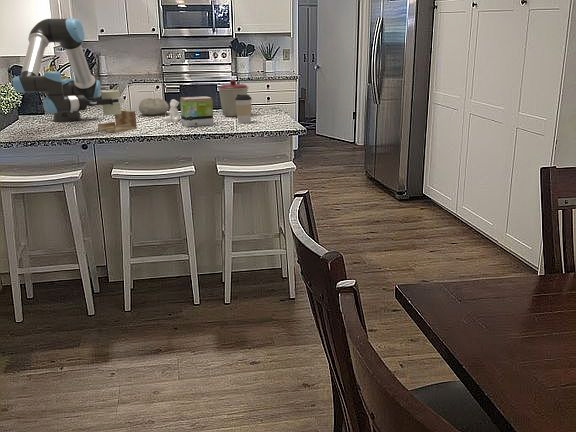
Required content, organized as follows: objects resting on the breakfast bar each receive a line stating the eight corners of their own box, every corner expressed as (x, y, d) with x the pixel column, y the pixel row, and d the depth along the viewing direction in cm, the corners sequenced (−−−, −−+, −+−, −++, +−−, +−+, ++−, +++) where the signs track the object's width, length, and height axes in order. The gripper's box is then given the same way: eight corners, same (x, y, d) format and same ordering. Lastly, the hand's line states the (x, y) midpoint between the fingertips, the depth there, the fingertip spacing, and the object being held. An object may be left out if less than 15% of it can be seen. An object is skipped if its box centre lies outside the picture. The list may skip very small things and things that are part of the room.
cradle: (97, 130, 308) (95, 112, 305) (119, 126, 319) (117, 109, 316) (115, 132, 300) (113, 114, 298) (136, 128, 311) (135, 111, 309)
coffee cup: (255, 121, 328) (254, 93, 324) (248, 123, 320) (247, 95, 315) (240, 120, 331) (238, 93, 326) (233, 123, 323) (232, 95, 318)
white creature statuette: (162, 121, 333) (160, 100, 330) (171, 119, 341) (169, 98, 337) (176, 122, 329) (174, 100, 326) (185, 120, 337) (183, 98, 333)
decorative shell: (153, 112, 371) (152, 96, 368) (175, 113, 363) (174, 97, 360) (133, 116, 357) (131, 99, 354) (155, 117, 348) (154, 100, 345)
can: (116, 115, 300) (114, 90, 296) (99, 114, 302) (97, 90, 298) (124, 112, 309) (122, 89, 305) (108, 112, 310) (106, 89, 307)
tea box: (187, 127, 312) (185, 99, 308) (181, 124, 321) (179, 97, 316) (214, 125, 319) (212, 97, 314) (207, 122, 328) (206, 95, 323)
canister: (213, 117, 346) (211, 80, 339) (227, 113, 362) (226, 77, 355) (241, 118, 339) (239, 80, 333) (254, 114, 355) (253, 78, 348)
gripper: (69, 108, 301) (111, 104, 315) (86, 112, 285) (129, 108, 299) (67, 93, 299) (109, 90, 313) (84, 96, 283) (128, 93, 297)
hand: (119, 99), depth 306 cm, fingers closed on can, 9 cm apart
